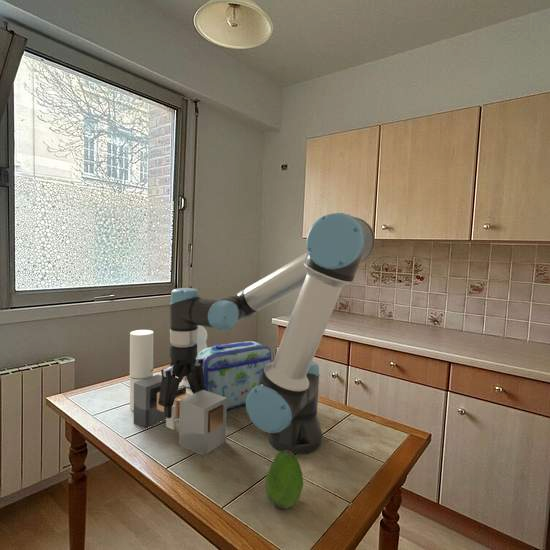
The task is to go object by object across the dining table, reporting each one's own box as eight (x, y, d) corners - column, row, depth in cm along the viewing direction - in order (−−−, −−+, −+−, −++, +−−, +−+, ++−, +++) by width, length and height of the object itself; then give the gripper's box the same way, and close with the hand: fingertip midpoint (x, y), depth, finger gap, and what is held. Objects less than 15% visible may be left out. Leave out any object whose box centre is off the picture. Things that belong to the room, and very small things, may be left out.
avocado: (294, 522, 74) (297, 465, 73) (259, 510, 77) (261, 455, 76) (306, 497, 82) (308, 445, 81) (273, 487, 85) (275, 437, 84)
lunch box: (204, 418, 116) (205, 352, 115) (192, 405, 125) (193, 344, 123) (274, 401, 131) (276, 343, 129) (258, 390, 140) (260, 335, 138)
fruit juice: (179, 380, 146) (180, 310, 144) (203, 377, 150) (204, 309, 148) (184, 389, 138) (185, 315, 135) (209, 386, 141) (211, 314, 139)
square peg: (225, 426, 102) (226, 401, 101) (207, 437, 96) (207, 410, 95) (172, 405, 113) (173, 382, 113) (153, 414, 107) (153, 390, 107)
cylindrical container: (156, 403, 126) (157, 330, 123) (147, 412, 118) (147, 335, 116) (136, 401, 126) (136, 329, 124) (125, 410, 119) (125, 334, 117)
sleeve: (225, 441, 103) (226, 397, 102) (203, 456, 96) (204, 409, 95) (202, 431, 108) (202, 389, 107) (178, 444, 101) (179, 399, 100)
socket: (169, 417, 116) (169, 378, 115) (145, 429, 108) (145, 387, 107) (157, 412, 119) (157, 374, 118) (133, 423, 111) (133, 382, 110)
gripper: (200, 334, 115) (199, 405, 117) (143, 349, 97) (143, 432, 99) (218, 338, 111) (216, 412, 113) (163, 354, 93) (162, 441, 95)
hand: (182, 421), depth 106 cm, fingers open, 8 cm apart
